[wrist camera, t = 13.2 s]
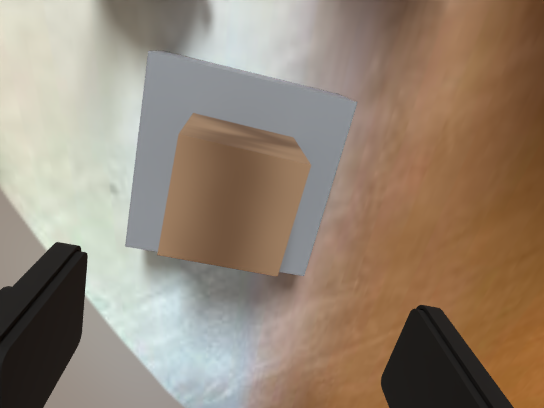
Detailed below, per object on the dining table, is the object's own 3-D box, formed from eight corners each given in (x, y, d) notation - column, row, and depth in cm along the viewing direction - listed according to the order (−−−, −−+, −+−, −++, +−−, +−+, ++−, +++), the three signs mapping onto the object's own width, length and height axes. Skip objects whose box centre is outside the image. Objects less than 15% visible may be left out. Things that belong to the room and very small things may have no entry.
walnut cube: (293, 137, 23) (311, 164, 18) (268, 226, 25) (277, 276, 20) (193, 112, 22) (178, 133, 17) (175, 207, 24) (157, 254, 19)
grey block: (337, 93, 27) (357, 102, 23) (294, 242, 31) (303, 276, 27) (164, 50, 25) (148, 51, 21) (143, 215, 30) (125, 246, 25)
